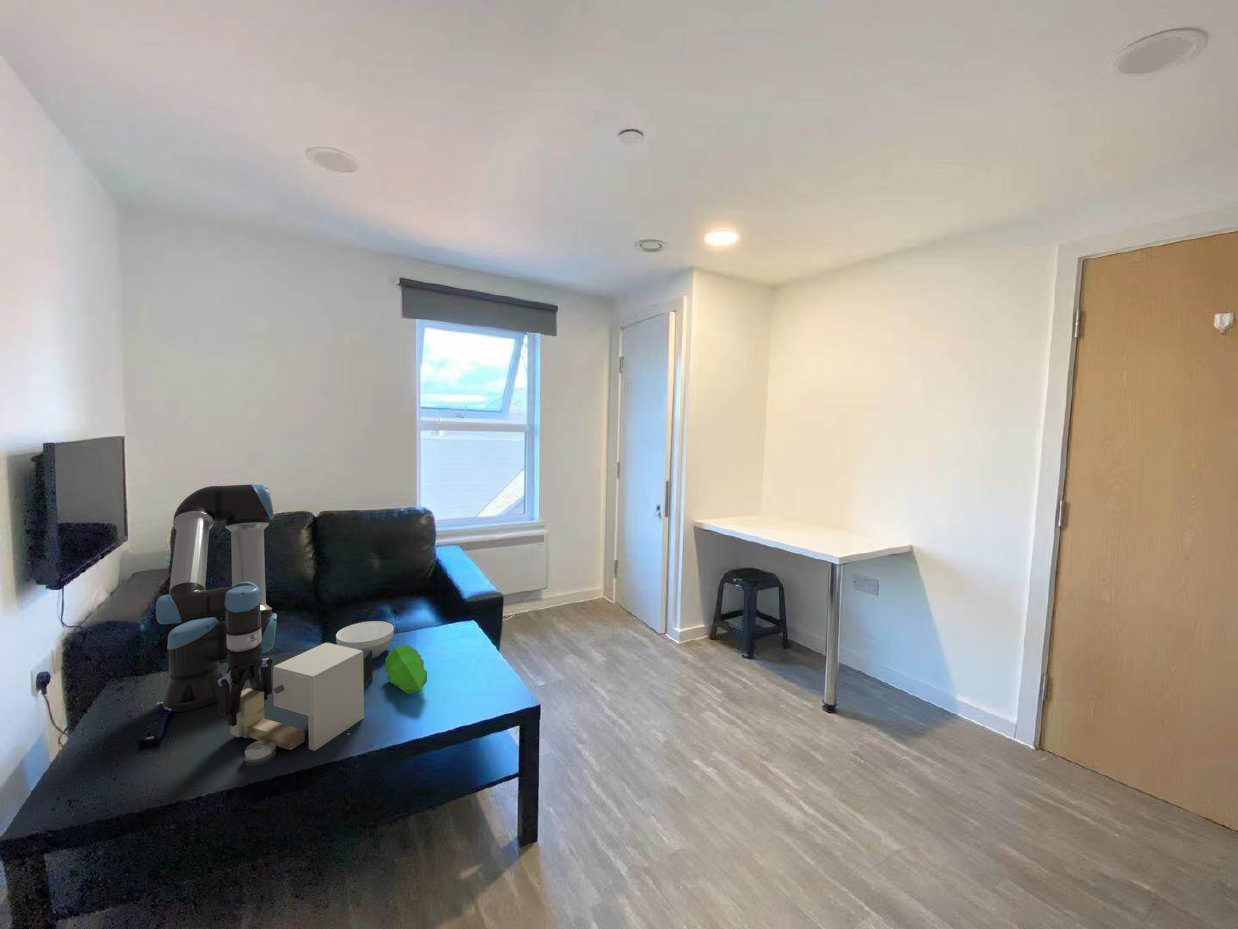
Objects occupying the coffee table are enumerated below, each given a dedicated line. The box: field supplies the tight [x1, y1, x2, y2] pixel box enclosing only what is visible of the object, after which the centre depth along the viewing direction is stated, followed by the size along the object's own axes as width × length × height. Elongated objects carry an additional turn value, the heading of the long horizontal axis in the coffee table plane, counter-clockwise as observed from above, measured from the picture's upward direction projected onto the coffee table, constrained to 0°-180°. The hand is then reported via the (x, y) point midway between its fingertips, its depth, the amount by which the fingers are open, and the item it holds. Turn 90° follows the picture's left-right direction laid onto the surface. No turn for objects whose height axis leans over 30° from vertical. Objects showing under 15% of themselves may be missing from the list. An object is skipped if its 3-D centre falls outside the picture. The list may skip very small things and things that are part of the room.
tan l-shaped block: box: [229, 687, 306, 751], centre depth 136 cm, size 21×5×10 cm, turn 71°
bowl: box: [335, 620, 394, 659], centre depth 187 cm, size 19×19×9 cm
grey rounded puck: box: [244, 739, 277, 767], centre depth 130 cm, size 6×6×3 cm
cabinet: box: [272, 642, 365, 752], centre depth 141 cm, size 14×18×20 cm
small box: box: [362, 650, 374, 690], centre depth 166 cm, size 11×6×10 cm, turn 92°
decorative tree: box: [384, 644, 428, 695], centre depth 165 cm, size 11×12×30 cm
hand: (247, 729), depth 139 cm, fingers closed on tan l-shaped block, 5 cm apart
